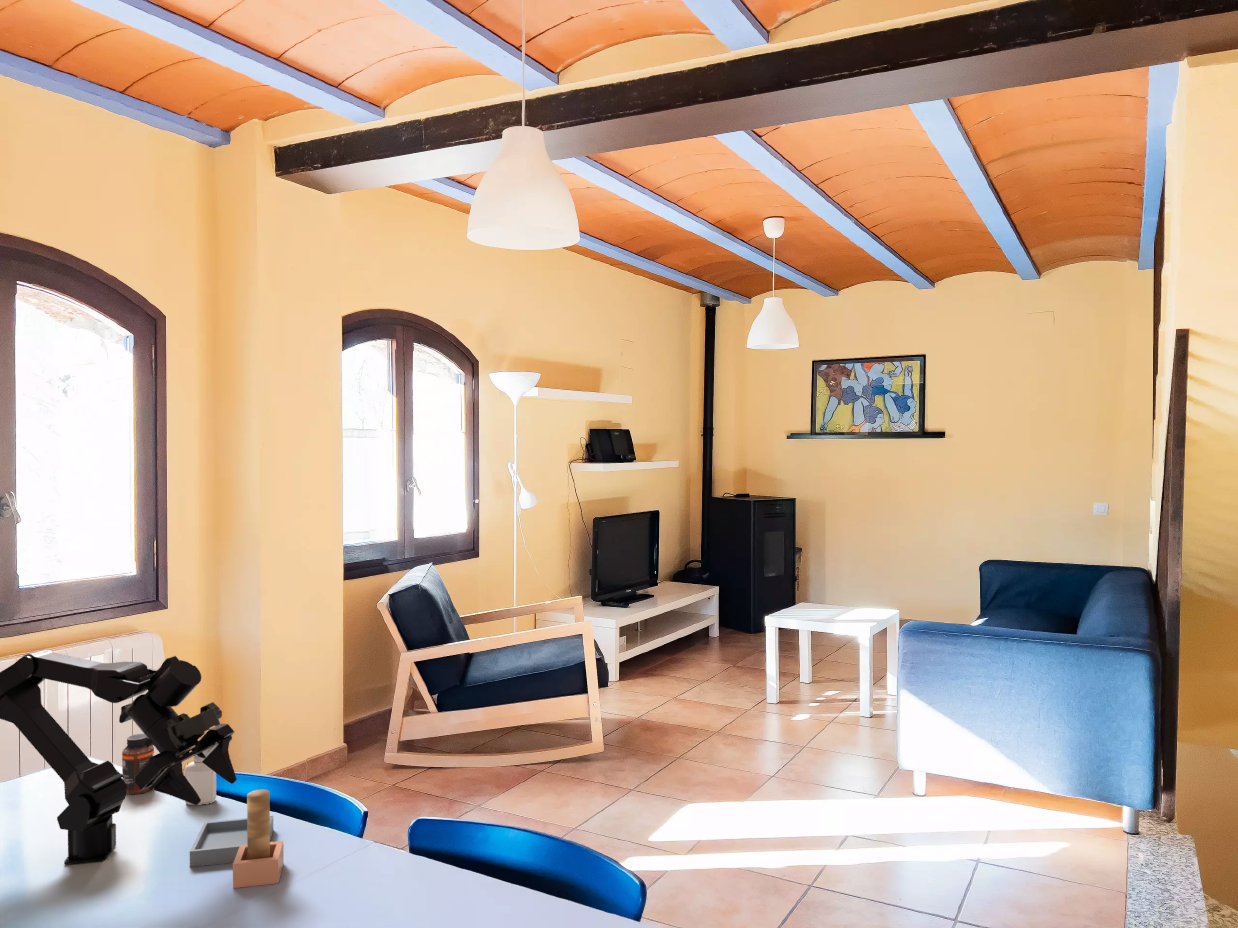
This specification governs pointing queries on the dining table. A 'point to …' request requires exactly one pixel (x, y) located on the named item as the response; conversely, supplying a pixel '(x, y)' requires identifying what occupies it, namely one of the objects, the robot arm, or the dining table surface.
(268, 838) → the oak dowel
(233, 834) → the tray
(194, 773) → the eye dropper bottle
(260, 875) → the terracotta socket
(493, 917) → the dining table surface
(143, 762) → the supplement bottle
